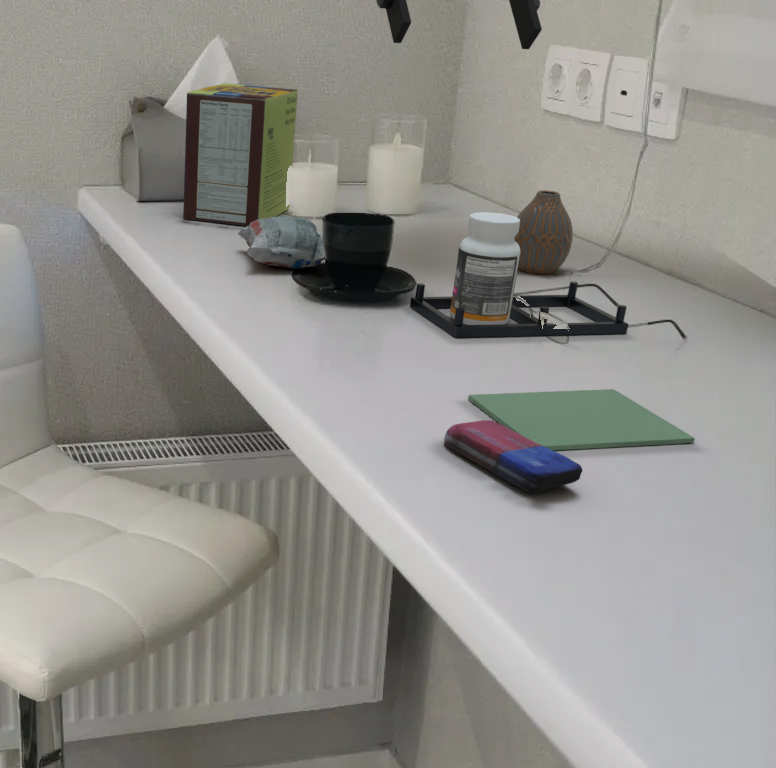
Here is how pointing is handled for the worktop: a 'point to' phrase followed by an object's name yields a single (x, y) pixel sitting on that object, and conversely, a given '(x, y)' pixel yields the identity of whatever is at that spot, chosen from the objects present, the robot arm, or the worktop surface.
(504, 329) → the black rectangular frame
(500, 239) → the pill bottle
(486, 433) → the eraser
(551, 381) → the worktop surface
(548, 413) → the mat
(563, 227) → the vase
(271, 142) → the protein box
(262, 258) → the packaged food
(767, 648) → the worktop surface
